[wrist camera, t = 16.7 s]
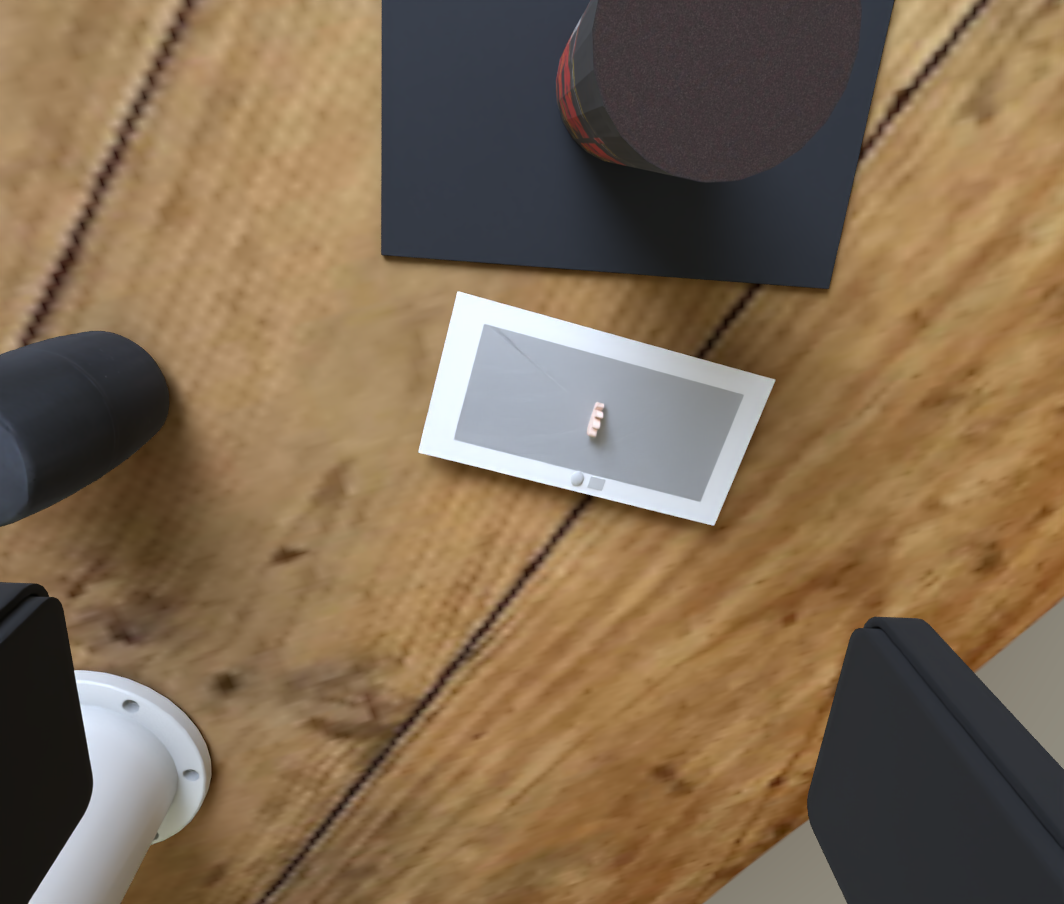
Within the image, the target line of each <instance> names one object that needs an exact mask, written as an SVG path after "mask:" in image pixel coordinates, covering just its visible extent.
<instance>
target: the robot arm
mask: <svg viewBox="0 0 1064 904" xmlns="http://www.w3.org/2000/svg"><path fill="white" fill-rule="evenodd" d="M211 776H212V774H211V759H210V755H209V752H208V749H207V745H206V743H205V741H204V739H203V737H202V736H201V734H200V732H199V730H198V728H197V727H196V726H195V725H194V723H193V722H192V721H191V720H190V719H189V717H188V716H187V715H186V714H185V713H184V712H183V711H182V710H181V709H179V708H178V707H177V706H176V705H175V704H174V703H172V702H171V701H170V700H169V699H167V698H166V697H164V696H162V695H161V694H159V693H157V692H156V691H154V690H152V689H151V688H149V687H147V686H144V685H142V684H140V683H137V682H135V681H133V680H130V679H127V678H124V677H120V676H116V675H112V674H109V673H103V672H95V671H87V670H74V667H73V661H72V656H71V650H70V645H69V639H68V633H67V628H66V622H65V616H64V611H63V607H62V604H61V602H60V601H59V600H58V599H57V598H54V597H49V595H48V592H47V591H46V590H45V588H44V587H43V586H41V585H39V584H31V583H6V582H0V904H120V903H121V902H122V900H123V898H124V896H125V894H126V892H127V890H128V888H129V886H130V884H131V882H132V880H133V878H134V876H135V874H136V872H137V870H138V868H139V867H140V865H141V863H142V861H143V859H144V857H145V855H146V853H147V851H148V849H149V847H150V845H152V844H155V843H158V842H161V841H164V840H166V839H167V838H169V837H171V836H173V835H174V834H176V833H178V832H179V831H181V830H182V829H183V828H184V827H185V826H186V825H187V824H188V823H190V822H191V821H192V819H193V818H194V816H195V815H196V813H197V812H198V811H199V809H200V807H201V805H202V803H203V801H204V799H205V796H206V794H207V792H208V790H209V785H210V780H211ZM807 808H808V816H809V820H810V824H811V827H812V829H813V831H814V834H815V836H816V838H817V840H818V842H819V844H820V846H821V848H822V850H823V853H824V855H825V857H826V859H827V861H828V863H829V865H830V868H831V870H832V872H833V874H834V876H835V878H836V880H837V882H838V885H839V887H840V889H841V891H842V893H843V895H844V897H845V899H846V902H847V904H1064V769H1063V768H1062V767H1061V766H1060V765H1059V764H1058V763H1057V762H1056V761H1055V760H1054V759H1053V757H1052V756H1051V755H1050V754H1049V753H1048V752H1047V751H1046V750H1045V749H1044V748H1043V747H1042V746H1041V745H1040V743H1039V742H1038V741H1037V740H1036V739H1035V738H1034V737H1033V736H1032V735H1031V734H1030V733H1029V732H1028V731H1027V729H1025V727H1024V726H1023V725H1022V724H1021V723H1020V722H1019V721H1018V720H1017V719H1016V718H1015V717H1014V715H1013V714H1012V713H1011V712H1010V711H1009V710H1008V709H1007V708H1006V707H1005V706H1004V705H1003V704H1002V703H1001V701H1000V700H999V699H998V698H997V697H996V696H995V695H994V694H993V693H992V692H991V691H990V690H989V689H988V687H986V686H985V684H984V683H983V682H982V681H981V680H980V679H979V678H978V677H977V676H976V675H975V673H974V672H973V671H972V670H971V669H970V668H969V667H968V666H967V665H966V664H965V663H964V662H963V661H962V659H961V658H960V657H959V656H958V655H957V654H956V653H955V652H954V651H953V650H952V649H951V648H950V647H949V645H948V644H947V643H946V642H945V641H944V640H943V639H942V638H941V637H940V636H939V635H938V634H937V633H936V631H935V630H934V629H933V628H932V627H931V626H930V625H929V624H928V623H926V622H925V621H924V620H921V619H917V618H892V617H873V618H871V619H869V620H868V621H867V622H866V624H865V625H864V628H858V629H856V630H855V631H854V632H853V633H852V635H851V637H850V640H849V644H848V648H847V651H846V655H845V659H844V662H843V666H842V670H841V674H840V677H839V681H838V685H837V689H836V692H835V696H834V700H833V703H832V707H831V711H830V715H829V718H828V722H827V726H826V730H825V733H824V737H823V741H822V744H821V748H820V752H819V756H818V759H817V763H816V767H815V771H814V774H813V778H812V782H811V785H810V789H809V793H808V799H807Z"/></svg>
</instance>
